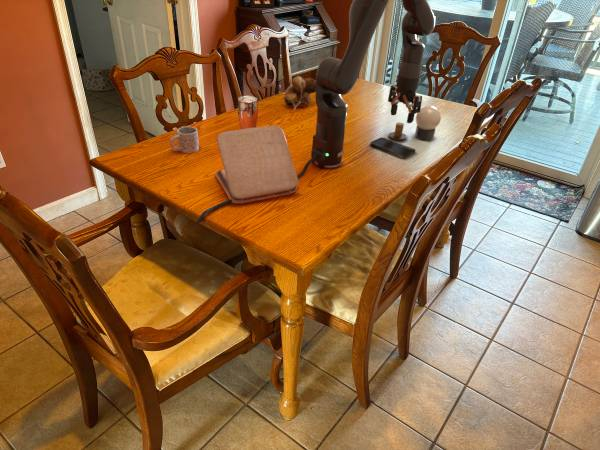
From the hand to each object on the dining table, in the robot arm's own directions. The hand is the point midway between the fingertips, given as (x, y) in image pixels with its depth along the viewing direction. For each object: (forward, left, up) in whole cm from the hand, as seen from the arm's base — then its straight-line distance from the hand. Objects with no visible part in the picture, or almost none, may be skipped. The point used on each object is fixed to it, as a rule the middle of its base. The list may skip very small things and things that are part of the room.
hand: (401, 118), depth 165 cm
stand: (+10, -4, -8) cm, 13 cm away
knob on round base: (0, 0, -8) cm, 8 cm away
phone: (-9, -7, -8) cm, 14 cm away
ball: (+10, -4, 0) cm, 11 cm away
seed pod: (-15, +47, -8) cm, 50 cm away
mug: (-74, +25, -8) cm, 79 cm away
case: (-64, -7, -8) cm, 65 cm away
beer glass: (-51, +23, -8) cm, 57 cm away
